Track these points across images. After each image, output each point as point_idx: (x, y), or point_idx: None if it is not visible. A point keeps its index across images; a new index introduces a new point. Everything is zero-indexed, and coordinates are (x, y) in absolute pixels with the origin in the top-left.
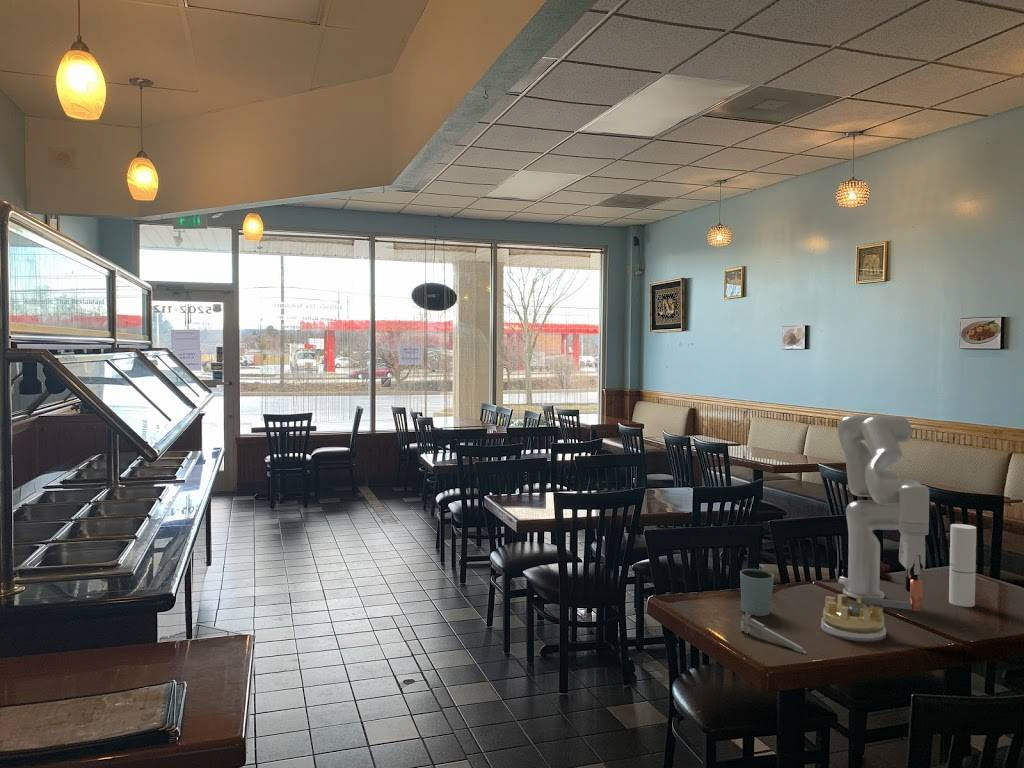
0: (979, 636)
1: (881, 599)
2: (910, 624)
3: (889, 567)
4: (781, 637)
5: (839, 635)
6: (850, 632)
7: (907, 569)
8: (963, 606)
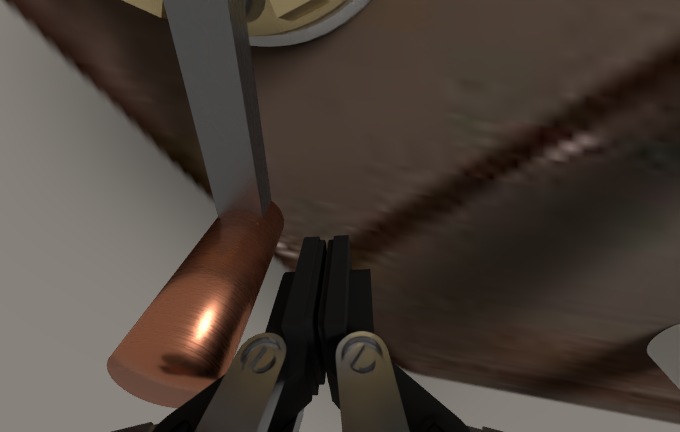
0: (380, 318)
1: (203, 8)
2: (449, 169)
3: None
4: None
5: None
6: None
7: (344, 426)
8: (652, 339)
